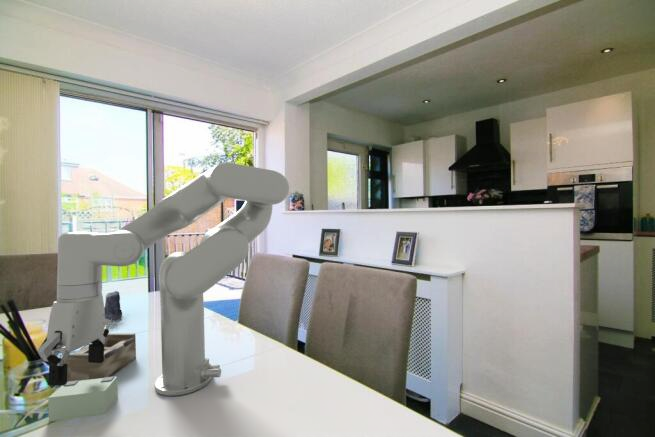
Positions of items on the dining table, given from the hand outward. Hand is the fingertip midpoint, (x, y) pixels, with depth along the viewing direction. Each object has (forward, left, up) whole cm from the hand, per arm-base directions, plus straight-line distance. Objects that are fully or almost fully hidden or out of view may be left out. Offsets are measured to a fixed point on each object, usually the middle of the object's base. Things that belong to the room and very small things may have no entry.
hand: (78, 372), depth 67 cm
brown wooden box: (+8, -17, -8) cm, 20 cm away
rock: (+36, -59, -8) cm, 70 cm away
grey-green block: (-1, -1, -8) cm, 8 cm away
